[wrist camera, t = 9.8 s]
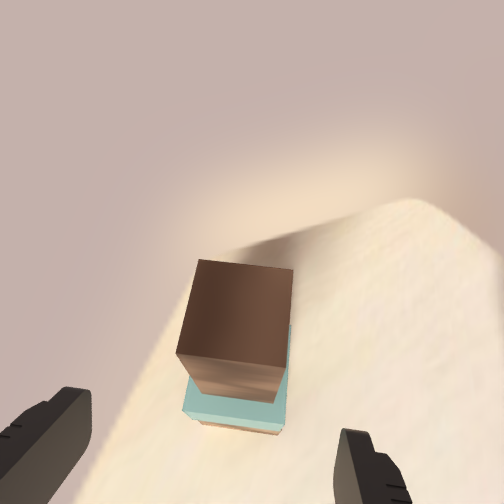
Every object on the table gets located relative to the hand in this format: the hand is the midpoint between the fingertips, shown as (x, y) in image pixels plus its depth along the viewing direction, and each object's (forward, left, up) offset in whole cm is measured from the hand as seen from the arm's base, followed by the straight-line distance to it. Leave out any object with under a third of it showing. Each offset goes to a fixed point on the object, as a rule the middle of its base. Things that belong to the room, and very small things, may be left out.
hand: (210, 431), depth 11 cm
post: (0, -6, -13) cm, 15 cm away
